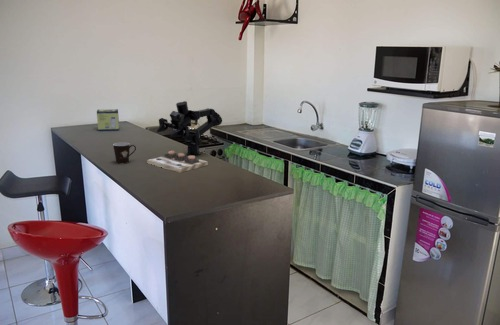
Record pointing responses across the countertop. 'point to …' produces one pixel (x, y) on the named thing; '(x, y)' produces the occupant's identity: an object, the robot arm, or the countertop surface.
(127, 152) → the coffee mug
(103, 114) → the protein box
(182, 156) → the middle button
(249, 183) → the countertop surface
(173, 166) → the button board
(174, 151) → the button
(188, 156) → the button
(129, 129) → the countertop surface
